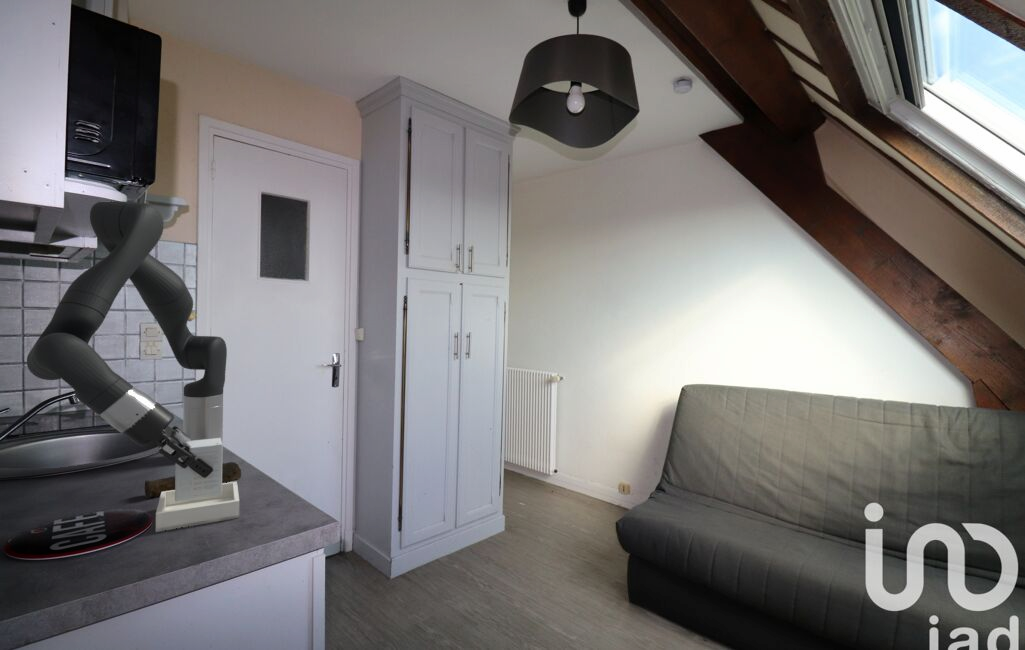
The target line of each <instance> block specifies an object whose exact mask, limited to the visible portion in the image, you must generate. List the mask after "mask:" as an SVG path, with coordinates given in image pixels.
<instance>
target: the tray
mask: <svg viewBox="0 0 1025 650" xmlns="http://www.w3.org/2000/svg"><path fill="white" fill-rule="evenodd" d="M239 494H240V493H239V487H238V481H236V480H235V481H230V482H227V483H222V494H221V495H215V496H208V497H202V498H195V499H189V500H182V501H175V490H170V491H163V492H161V495H159V499H158V500H159V501H158V504H157V508H156V512H155V533H159V532H165V530H166V531H171V530H176V528H177V529H182V528H181V527H183V528H188V526H189V527H194V525H195V526H199V525H206V524H211V523H218V522H223V521H229V520H230V521H231V520H234V519H235V520H236V519H239V518H240V495H239Z"/></svg>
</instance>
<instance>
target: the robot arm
mask: <svg viewBox="0 0 1025 650" xmlns="http://www.w3.org/2000/svg"><path fill="white" fill-rule="evenodd" d="M110 201H111V202H100V201H98V202H96V203H94V204H93V205H92V207H91V209H90V211H89V223H90V225H91V227H92V231H93V232H94V234H95V235H96V237H97V239H98V240H99V242H100V243H101V244H102V245H103V247H104V248H105V249H106V250H107V252H109V254H107V256H104V258H102V259H101V260H100V261H98V262H97V263H96V264H94V265H92V266H91V267H90V268H87V269H86V270H85V271H84V272H83V273H81V274H80V275H79V276H77V277H76V278H75V280H73V281H72V283H70V285H69V286H68V288H67V289H66V291H65V293H64V294H63V295H62V298H61V300H60V301H59V302H58V305H57V307H56V309H55V311H54V313H53V315H52V318H51V320H50V322H49V323H48V325H47V326H46V327H45V329H44V331H43V332H42V333H41V334H40V336H39V337H38V339H37V341H35V343H34V345H33V346H32V347H31V350H30V351H29V352H28V354H27V357H26V366H27V369H28V370H29V372H30V373H31V374H32V375H33V376H35V377H37V378H38V379H41V380H45V381H56V380H61V379H62V381H64V382H65V383H66V384H67V385H68V386H70V387H71V388H72V389H73V390H74V396H75V398H76V399H77V400H78V401H79V402H80V403H82V404H83V405H84V406H86V407H87V408H89V409H90V410H92V412H94V413H96V414H97V415H99V416H100V417H101V418H102V419H103V420H104V421H105V422H106V423H107V424H108V425H110V426H111V427H112V428H114V429H115V430H116V431H118V432H119V433H121V434H122V435H123V436H125V437H126V438H128V439H129V440H131V441H132V442H134V443H135V444H136V445H138V446H139V447H143V446H146V445H148V444H149V443H150V442H151V441H153V442H154V443H156V444H157V445H158V447H157V448H158V453H160V455H162V456H164V457H166V458H167V459H168V460H170V461H172V462H173V463H176V464H178V465H179V466H181V467H182V468H184V469H185V468H186V467H187V468H191V469H192V470H193V471H195V472H196V473H198V474H199V475H200V476H202V477H203V478H206V477H207V476H208V475H209V474H211V473H212V472H213V468H212V467H211V466H210V465H208V464H207V463H206V462H204V461H203V460H201V459H200V458H199V457H198V456H197V455H196V454H194V453H193V452H192V451H191V446H190V445H189V444H188V443H187V442H188V441H194V440H204V439H214V438H221V441H222V444H223V437H224V435H223V434H224V430H223V428H224V387H225V384H226V383H225V381H226V370H227V369H226V368H227V359H228V358H227V357H228V355H227V354H228V353H227V352H228V351H227V349H228V348H227V343H226V341H225V340H224V338H223V337H221V336H215V335H214V336H213V335H194V334H192V332H191V331H190V329H189V327H188V321H189V319H190V316H191V314H192V313H193V308H194V300H193V296H192V294H191V293H190V291H189V289H188V287H187V286H186V283H185V282H184V280H183V279H182V278H181V277H180V275H178V273H176V272H175V271H174V270H173V269H171V268H170V267H168V266H167V265H166V264H164V263H163V262H161V261H160V260H158V259H157V258H155V257H154V256H153V255H151V254H150V253H151V252H152V251H153V250H154V249H155V247H156V246H157V244H158V243H159V241H160V239H161V238H162V235H163V232H164V227H165V226H164V218H163V216H162V214H161V212H160V210H159V209H158V208H157V207H156V206H154V205H152V204H150V203H144V202H136V201H121V200H110ZM112 201H113V202H112ZM114 201H115V202H114ZM129 280H130V281H131V283H132V285H133V286H134V288H135V289H136V291H137V292H138V293H139V296H140V297H141V300H143V301H142V302H143V303H144V304H145V306H146V308H147V309H148V311H149V312H150V313H151V314H152V316H153V317H154V319H155V321H156V322H157V324H158V325H159V327H160V329H161V330H162V333H163V334H164V336H165V339H166V340H167V342H168V344H169V347H170V349H171V351H172V353H173V356H174V358H175V359H176V361H177V363H178V364H179V365H180V366H181V367H182V368H183V369H187V370H193V371H194V370H196V371H199V370H200V371H201V370H202V371H203V370H204V374H203V377H202V378H200V379H198V380H196V381H192V382H189V383H186V384H185V385H184V386H183V407H182V409H183V411H182V412H183V413H182V415H183V417H182V419H183V423H182V424H183V425H182V428H183V429H182V430H181V429H180V428H179V427H178V426H176V425H174V426H173V427H171V426H169V425H170V424H171V423H172V422H173V421H174V419H175V415H174V414H173V413H172V412H170V411H169V410H168V409H166V408H164V406H162V405H161V404H160V403H158V402H157V401H156V400H155V399H153V398H152V397H151V396H149V395H148V394H147V393H145V392H143V391H142V390H140V389H138V388H137V387H135V386H133V385H132V384H131V383H130V382H128V381H127V380H126V379H125V378H123V377H122V376H121V375H120V374H118V373H116V372H115V371H114V370H113V369H112V368H111V367H110V366H109V365H108V363H107V362H106V361H105V360H104V358H102V356H100V354H99V353H98V352H97V351H96V350H94V349H95V348H93V347H92V346H91V345H90V344H89V342H90V341H91V339H92V337H93V335H94V334H95V333H96V332H97V331H98V330H99V328H100V327H101V325H102V324H103V323H104V320H105V319H106V317H107V316H108V314H109V311H110V309H111V308H112V305H113V304H114V302H115V300H116V298H117V296H118V295H119V293H120V292H121V290H122V288H123V287H124V285H125V284H126V283H127V281H129ZM186 441H187V442H186ZM183 447H185V448H184V449H183ZM184 455H185V456H187V457H188V458H187V459H186V460H183V459H182V457H183V456H184Z"/></svg>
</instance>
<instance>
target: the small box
mask: <svg viewBox="0 0 1025 650" xmlns="http://www.w3.org/2000/svg"><path fill="white" fill-rule="evenodd" d="M186 442H187V441H186ZM187 443H188V444H189V445H190V446H191V451H192V452H193V453H194V454H196V455H197V456H198V457H199V458H200V459H201V460H203V461H204V462H206V463H207V464H208V465H210V466H211V467H212V468H213V472H212V473H211V474H209V475H208V476H207V477H206V478H203V477H202V476H200V475H199V474H198V473H196V472H195V471H193V470H192V469H191V468H187V467H186V468H185V469H184V468H182V467H181V466H179V465H178V464H176V463H175V462H174V463H175V466H174V467H175V468H174V470H175V473H174V474H175V475H174V476H175V501H182V500H189V499H195V498H202V497H208V496H215V495H221V494H222V464H223V443H222V441H221V438H214V439H204V440H194V441H188V442H187ZM184 448H185V447H183V449H184ZM187 458H188V457H187V456H185V455H184V456H183V457H182V459H183V460H186V459H187Z"/></svg>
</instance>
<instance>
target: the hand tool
mask: <svg viewBox="0 0 1025 650" xmlns="http://www.w3.org/2000/svg"><path fill="white" fill-rule="evenodd" d="M241 477H242V469H241V468H240V466H239V464H238V463H236V462H235V461H231V462H230V461H229V462H226V463H223V462H222V483H225V482H227V483H229V482H228V481H230V482H233V481H236V480H238V478H239V479H241ZM235 479H236V480H235ZM232 480H233V481H232ZM143 488H144V494H145V498H146V499H147V500H149V499H151V498H152V497H156V498H157V497H160V496H161V492H163V491H170V490H175V475H174V476H169V477H163V478H159V479H154V480H145V481H144V487H143Z"/></svg>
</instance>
